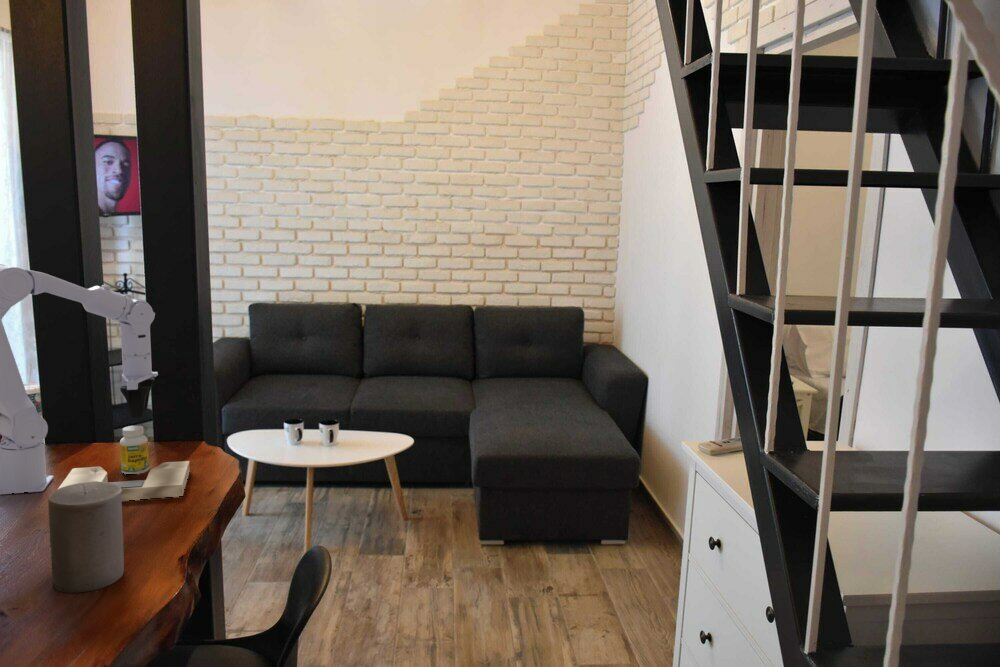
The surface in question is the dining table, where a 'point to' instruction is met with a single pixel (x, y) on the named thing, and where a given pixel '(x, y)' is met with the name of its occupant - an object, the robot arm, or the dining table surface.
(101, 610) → the dining table surface
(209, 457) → the dining table surface
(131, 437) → the supplement bottle
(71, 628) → the dining table surface
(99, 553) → the pillar candle
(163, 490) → the jig block
